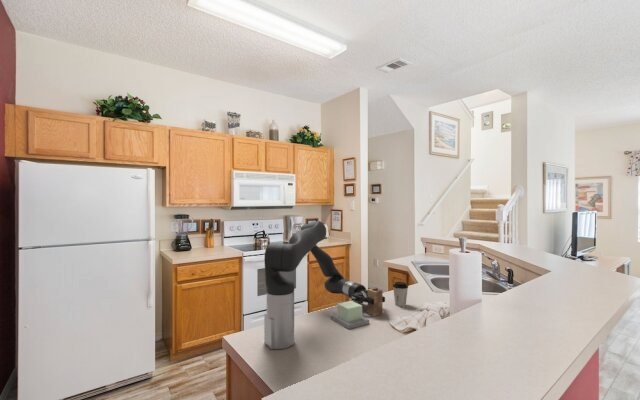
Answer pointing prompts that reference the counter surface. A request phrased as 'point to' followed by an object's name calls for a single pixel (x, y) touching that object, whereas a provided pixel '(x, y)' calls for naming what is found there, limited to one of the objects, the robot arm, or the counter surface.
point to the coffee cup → (400, 293)
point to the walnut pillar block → (375, 301)
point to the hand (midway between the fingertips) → (379, 300)
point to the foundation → (349, 315)
